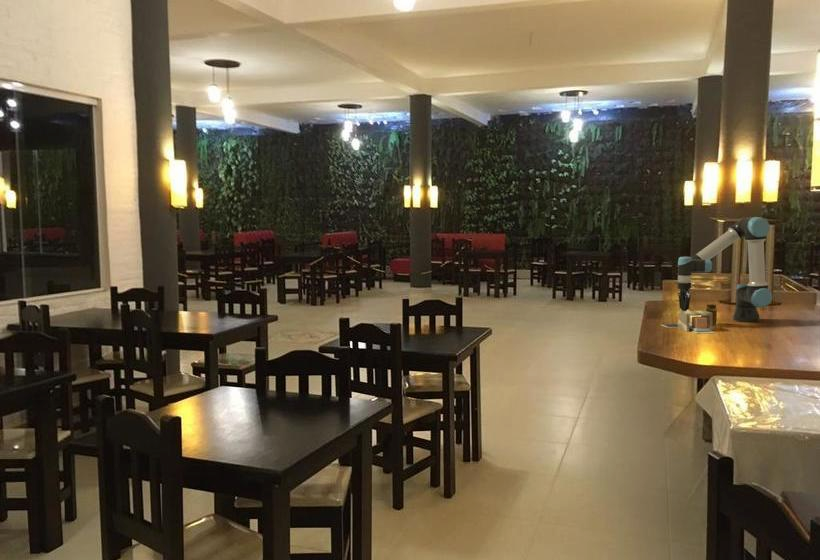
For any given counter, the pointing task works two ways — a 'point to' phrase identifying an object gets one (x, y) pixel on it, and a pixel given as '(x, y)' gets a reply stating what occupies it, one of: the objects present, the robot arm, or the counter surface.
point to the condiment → (713, 310)
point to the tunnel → (684, 315)
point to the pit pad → (671, 325)
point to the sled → (698, 324)
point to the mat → (702, 332)
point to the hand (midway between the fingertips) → (683, 320)
